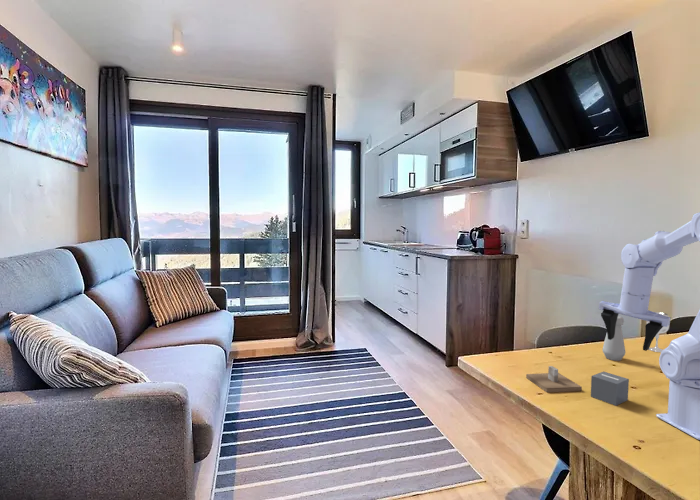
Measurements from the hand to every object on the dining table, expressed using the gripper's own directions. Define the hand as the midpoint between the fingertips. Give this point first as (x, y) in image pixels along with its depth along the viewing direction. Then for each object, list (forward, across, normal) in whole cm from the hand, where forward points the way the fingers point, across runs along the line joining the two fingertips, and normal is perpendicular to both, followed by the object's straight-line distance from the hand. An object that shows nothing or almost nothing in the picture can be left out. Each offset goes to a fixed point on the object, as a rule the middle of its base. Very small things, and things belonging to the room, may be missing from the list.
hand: (627, 343), depth 98 cm
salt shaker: (+13, +8, -18) cm, 23 cm away
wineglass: (+15, +3, -38) cm, 41 cm away
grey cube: (+9, -2, +14) cm, 17 cm away
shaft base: (+10, +10, +16) cm, 21 cm away
